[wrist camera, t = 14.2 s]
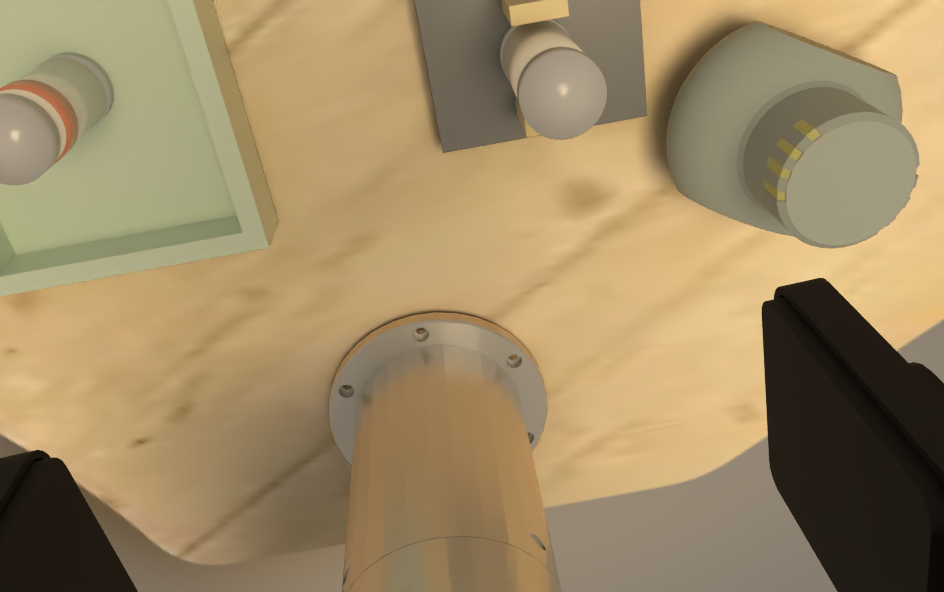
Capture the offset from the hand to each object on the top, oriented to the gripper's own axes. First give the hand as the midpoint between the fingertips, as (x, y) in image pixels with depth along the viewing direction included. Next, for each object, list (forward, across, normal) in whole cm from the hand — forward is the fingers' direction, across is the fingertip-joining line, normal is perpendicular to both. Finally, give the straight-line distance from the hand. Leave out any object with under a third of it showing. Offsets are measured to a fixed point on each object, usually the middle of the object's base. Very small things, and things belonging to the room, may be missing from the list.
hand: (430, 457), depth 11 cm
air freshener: (+32, -16, +8) cm, 37 cm away
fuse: (+30, -5, +2) cm, 31 cm away
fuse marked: (+31, +16, 0) cm, 35 cm away
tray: (+32, +16, 0) cm, 35 cm away
